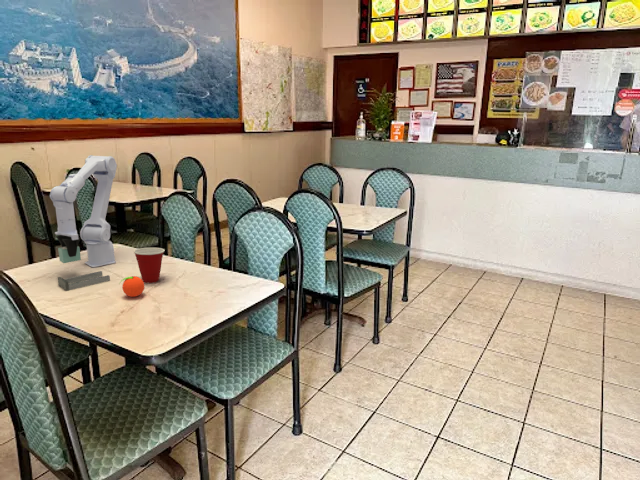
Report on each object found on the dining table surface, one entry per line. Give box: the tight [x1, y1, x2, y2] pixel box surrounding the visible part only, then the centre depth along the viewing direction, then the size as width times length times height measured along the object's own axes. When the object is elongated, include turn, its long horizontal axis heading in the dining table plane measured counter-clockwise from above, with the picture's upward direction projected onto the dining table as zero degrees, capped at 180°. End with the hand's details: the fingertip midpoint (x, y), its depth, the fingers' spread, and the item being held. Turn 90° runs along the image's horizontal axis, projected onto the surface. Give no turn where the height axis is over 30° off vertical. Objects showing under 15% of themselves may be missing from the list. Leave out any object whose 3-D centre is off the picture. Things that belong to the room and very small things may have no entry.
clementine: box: [118, 276, 145, 298], centre depth 152 cm, size 8×7×7 cm
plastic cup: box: [132, 247, 166, 284], centre depth 166 cm, size 11×11×12 cm
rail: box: [57, 270, 111, 292], centre depth 163 cm, size 15×7×3 cm, turn 138°
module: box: [57, 246, 82, 264], centre depth 167 cm, size 6×4×5 cm, turn 138°
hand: (70, 254), depth 167 cm, fingers closed on module, 4 cm apart
